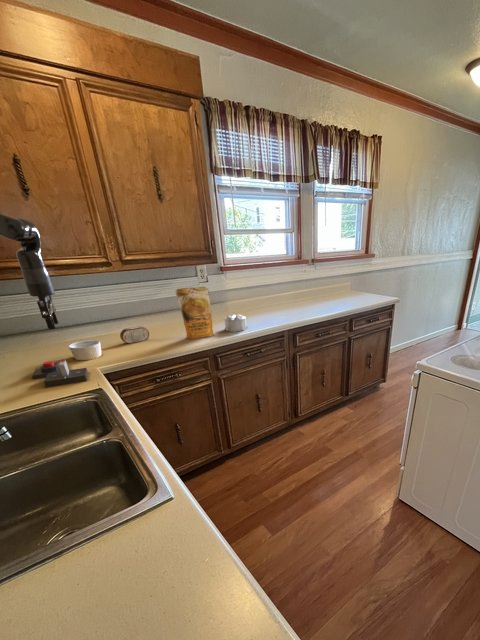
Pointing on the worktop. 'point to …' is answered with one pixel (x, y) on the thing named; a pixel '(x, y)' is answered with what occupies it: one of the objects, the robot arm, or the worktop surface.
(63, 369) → the grey rectangular block
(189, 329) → the pancake mix bag
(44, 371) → the power switch
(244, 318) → the lumpy-topped squat cylinder
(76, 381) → the control panel
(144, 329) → the tin
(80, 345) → the ramekin
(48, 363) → the power button
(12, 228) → the robot arm
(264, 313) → the worktop surface
